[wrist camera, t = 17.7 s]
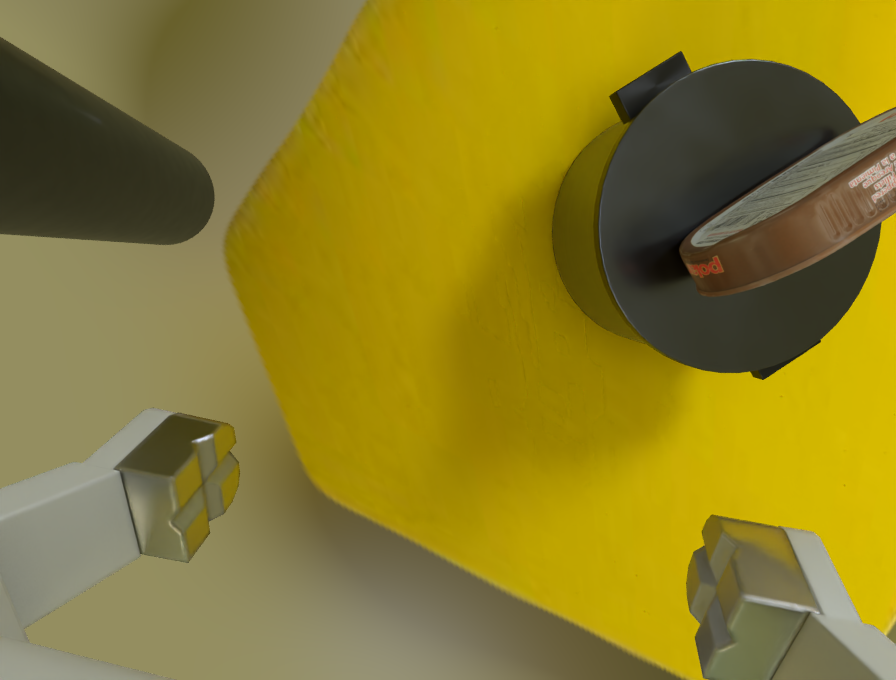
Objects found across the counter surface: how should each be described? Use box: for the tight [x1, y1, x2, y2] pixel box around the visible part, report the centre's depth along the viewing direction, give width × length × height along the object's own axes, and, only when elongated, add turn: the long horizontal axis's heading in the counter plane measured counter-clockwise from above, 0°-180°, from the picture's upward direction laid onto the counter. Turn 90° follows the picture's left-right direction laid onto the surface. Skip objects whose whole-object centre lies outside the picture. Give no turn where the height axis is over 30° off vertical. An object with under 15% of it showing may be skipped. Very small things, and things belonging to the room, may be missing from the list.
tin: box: [679, 107, 896, 297], centre depth 28 cm, size 15×3×8 cm, turn 122°
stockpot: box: [552, 51, 882, 380], centre depth 37 cm, size 19×17×9 cm
